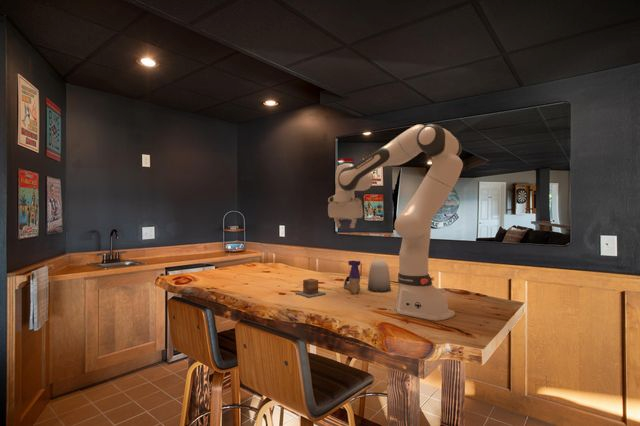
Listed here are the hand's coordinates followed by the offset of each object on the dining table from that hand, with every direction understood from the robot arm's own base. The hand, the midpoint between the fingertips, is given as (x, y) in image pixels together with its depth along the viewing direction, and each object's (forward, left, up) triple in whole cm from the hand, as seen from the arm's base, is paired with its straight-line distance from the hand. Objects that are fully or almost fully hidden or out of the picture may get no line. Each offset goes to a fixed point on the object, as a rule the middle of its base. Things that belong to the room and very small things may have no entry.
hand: (345, 227), depth 171 cm
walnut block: (+8, +15, -30) cm, 34 cm away
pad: (+8, +15, -31) cm, 35 cm away
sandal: (+2, -6, -31) cm, 32 cm away
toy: (-7, -16, -31) cm, 36 cm away
